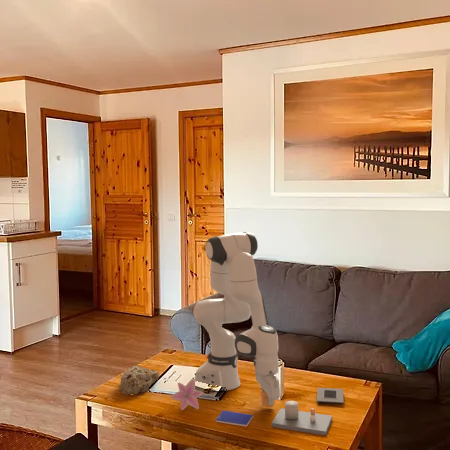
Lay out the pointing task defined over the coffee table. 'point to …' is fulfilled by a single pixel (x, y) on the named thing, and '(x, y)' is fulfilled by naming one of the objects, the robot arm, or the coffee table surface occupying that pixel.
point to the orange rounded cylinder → (265, 400)
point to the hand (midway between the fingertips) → (267, 400)
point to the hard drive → (234, 418)
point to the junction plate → (301, 420)
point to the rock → (137, 379)
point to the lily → (187, 395)
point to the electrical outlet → (330, 395)
